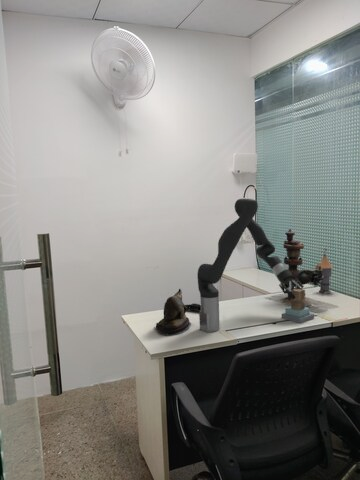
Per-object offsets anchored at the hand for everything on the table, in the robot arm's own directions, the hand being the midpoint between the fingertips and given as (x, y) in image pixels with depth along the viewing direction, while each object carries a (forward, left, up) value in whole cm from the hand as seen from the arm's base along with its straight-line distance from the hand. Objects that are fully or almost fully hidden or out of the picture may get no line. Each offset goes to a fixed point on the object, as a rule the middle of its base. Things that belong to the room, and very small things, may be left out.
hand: (299, 297), depth 203 cm
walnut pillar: (0, +1, -6) cm, 7 cm away
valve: (+26, +19, -12) cm, 34 cm away
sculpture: (-60, +34, -12) cm, 70 cm away
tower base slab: (0, +1, -12) cm, 12 cm away
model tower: (+56, +22, -12) cm, 61 cm away
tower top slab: (0, +1, -9) cm, 10 cm away
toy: (-34, +51, -12) cm, 62 cm away
